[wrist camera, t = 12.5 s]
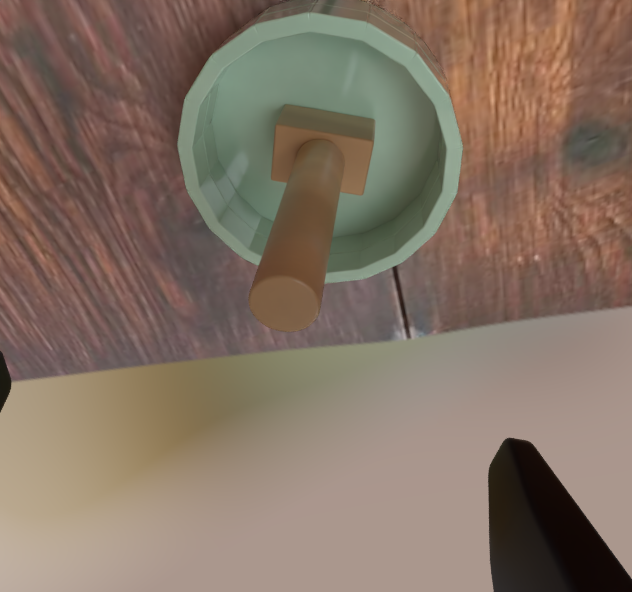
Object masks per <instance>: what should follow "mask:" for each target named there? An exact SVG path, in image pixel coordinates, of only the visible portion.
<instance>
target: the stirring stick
mask: <svg viewBox="0 0 632 592" xmlns="http://www.w3.org/2000/svg"><path fill="white" fill-rule="evenodd" d="M375 125H376V121H375V120H374V119H371V118H365V117H359V116H353V115H347V114H341V113H335V112H330V111H324V110H318V109H312V108H306V107H300V106H294V105H288V104H286V105H285V106H284V108H283V110H282V112H281V114H280V116H279V118H278V120H277V123H276V125H275V131H274V143H273V155H272V167H271V180H273V181H278V182H284V183H287V185H286V188H285V191H284V194H283V196H282V199H281V202H280V205H279V208H278V211H277V214H276V217H275V220H274V223H273V225H272V228H271V231H270V234H269V237H268V240H267V243H266V246H265V249H264V252H263V255H262V257H261V260H260V263H259V266H258V269H257V272H256V275H255V278H254V281H253V284H252V286H251V289H250V292H249V297H248V301H249V306H250V309H251V311H252V313H253V315H254V316H255V317H256V318H257V320H258V321H260V322H261V323H262V324H264V325H265V326H267V327H269V328H271V329H274V330H277V331H283V332H294V331H299V330H302V329H305V328H307V327H308V326H310V325H311V324H312V323H313V322H314V321H315V320H316V318H317V317H318V315H319V312H320V307H321V301H322V295H323V290H324V284H325V278H326V272H327V266H328V260H329V254H330V248H331V243H332V237H333V231H334V225H335V219H336V213H337V207H338V201H339V196H340V192H342V193H348V194H354V195H359V196H362V195H363V194H364V190H365V185H366V180H367V175H368V170H369V165H370V161H371V156H372V151H373V146H374V138H375Z"/></svg>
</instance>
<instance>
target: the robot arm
mask: <svg viewBox="0 0 632 592" xmlns="http://www.w3.org/2000/svg"><path fill="white" fill-rule="evenodd" d="M10 389H11V377H10V374H9V371H8V368H7V365H6V362H5V359H4V356H3V354H2V352H1V351H0V412H1V410H2V408H3V406H4V403H5V401H6V399H7V397H8V395H9V393H10ZM488 484H489V485H488V487H489V538H490V539H489V544H490V564H491V574H492V582H493V589H494V592H632V579H631V577H630V576H629V575H628V573H627V572H626V571H625V569H624V568H623V566H622V565H621V564H620V562H619V561H618V560H617V558H616V557H615V556H614V554H613V553H612V551H611V550H610V549H609V547H608V546H607V545H606V543H605V542H604V541H603V539H602V538H601V536H600V535H599V534H598V532H597V531H596V530H595V528H594V527H593V526H592V524H591V523H590V521H589V520H588V519H587V517H586V516H585V515H584V513H583V512H582V511H581V509H580V508H579V506H578V505H577V504H576V502H575V501H574V500H573V498H572V497H571V496H570V494H569V493H568V492H567V490H566V489H565V487H564V486H563V485H562V483H561V482H560V481H559V479H558V478H557V477H556V475H555V474H554V472H553V471H552V470H551V468H550V467H549V466H548V464H547V463H546V461H545V460H544V459H543V457H542V456H541V455H540V453H539V452H538V451H537V449H536V448H535V447H534V445H533V444H532V443H530V442H529V441H526V440H520V439H514V438H507V439H505V440H504V441H503V443H502V445H501V446H500V448H499V450H498V452H497V453H496V455H495V457H494V459H493V461H492V463H491V464H490V467H489V475H488Z"/></svg>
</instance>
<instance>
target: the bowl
mask: <svg viewBox="0 0 632 592" xmlns="http://www.w3.org/2000/svg"><path fill="white" fill-rule="evenodd" d="M286 104H288V105H294V106H300V107H306V108H312V109H318V110H324V111H330V112H335V113H341V114H347V115H353V116H359V117H365V118H371V119H374V120H375V121H376V125H375V138H374V146H373V151H372V156H371V161H370V165H369V170H368V175H367V180H366V185H365V190H364V194H363V195H362V196H359V195H354V194H348V193H342V192H340V196H339V201H338V207H337V213H336V219H335V225H334V231H333V237H332V243H331V248H330V254H329V260H328V266H327V272H326V278H325V283H334V282H343V281H352V280H361V279H366V278H368V277H370V276H373V275H375V274H377V273H380V272H382V271H384V270H387V269H389V268H391V267H394V266H396V265H398V264H401V263H402V262H404V261H405V260H406V259H407V258H408V257H410V256H411V255H412V254H413V253H414V252H415V251H416V250H417V249H419V248H420V247H421V246H422V245H423V244H424V243H425V242H426V241H428V240H429V239H430V238H431V237H432V236H433V235H434V234H435V233H436V232H437V230H438V228H439V226H440V224H441V222H442V221H443V219H444V217H445V215H446V213H447V211H448V210H449V208H450V206H451V204H452V202H453V200H454V198H455V197H456V193H457V191H458V183H459V176H460V168H461V160H462V152H463V143H462V139H461V135H460V131H459V127H458V123H457V119H456V115H455V111H454V107H453V103H452V100H451V96H450V92H449V88H448V84H447V80H446V76H445V74H444V72H443V70H442V68H441V67H440V65H439V64H438V62H437V60H436V58H435V57H434V55H433V54H432V52H431V51H430V49H429V48H428V47H427V45H426V44H425V42H424V41H423V40H422V39H421V38H420V37H419V36H418V35H417V34H416V33H415V32H414V31H413V30H412V29H411V28H410V27H409V26H407V25H406V24H405V23H404V22H402V21H401V20H400V19H399V18H397V17H395V16H394V15H392V14H390V13H389V12H387V11H385V10H384V9H382V8H379V7H377V6H374V5H372V4H370V3H367V2H365V1H361V0H289V1H286V2H283V3H280V4H278V5H275V6H271V7H270V8H267V9H266V10H265V11H263V12H262V13H260V14H258V15H257V16H255V17H254V18H253V19H251V20H250V21H249V22H247V23H246V24H245V25H243V26H242V27H241V28H240V29H238V30H237V31H236V32H234V33H233V34H231V35H230V36H229V37H228V38H227V39H226V40H225V41H224V42H223V44H221V45H220V46H219V48H218V49H217V50H216V51H215V52H214V53H213V54H212V55H211V56H210V57H209V58H208V60H207V62H206V63H205V65H204V67H203V68H202V70H201V71H200V73H199V75H198V76H197V78H196V80H195V81H194V83H193V85H192V86H191V88H190V90H189V91H188V93H187V95H186V96H185V99H184V103H183V110H182V116H181V122H180V129H179V135H178V142H177V145H178V152H179V157H180V162H181V167H182V171H183V176H184V181H185V186H186V189H187V192H188V194H189V196H190V197H191V199H192V201H193V202H194V204H195V206H196V207H197V209H198V211H199V212H200V214H201V216H202V218H203V219H204V221H205V223H206V224H207V226H208V227H209V228H210V230H211V231H212V232H213V233H214V234H216V235H217V236H218V237H219V238H220V239H221V240H222V241H223V242H224V243H225V244H227V245H228V246H229V247H230V248H231V249H232V250H233V251H234V252H235V253H237V254H238V255H239V256H240V257H242V258H243V259H245V260H247V261H249V262H251V263H253V264H255V265H257V266H259V263H260V260H261V257H262V255H263V252H264V249H265V246H266V243H267V240H268V237H269V234H270V231H271V228H272V225H273V223H274V220H275V217H276V214H277V211H278V208H279V205H280V202H281V199H282V196H283V194H284V191H285V188H286V185H287V183H284V182H278V181H273V180H271V167H272V155H273V143H274V131H275V125H276V123H277V120H278V118H279V116H280V114H281V112H282V110H283V108H284V106H285V105H286Z"/></svg>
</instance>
